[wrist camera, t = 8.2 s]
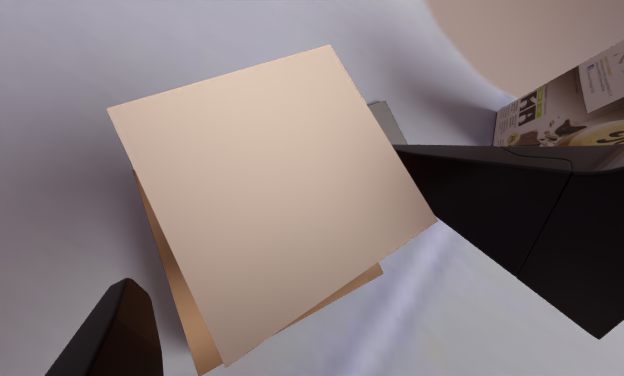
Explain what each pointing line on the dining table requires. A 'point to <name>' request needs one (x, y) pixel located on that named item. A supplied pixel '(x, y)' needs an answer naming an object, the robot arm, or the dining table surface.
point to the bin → (187, 308)
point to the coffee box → (570, 107)
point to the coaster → (387, 123)
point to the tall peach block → (270, 190)
